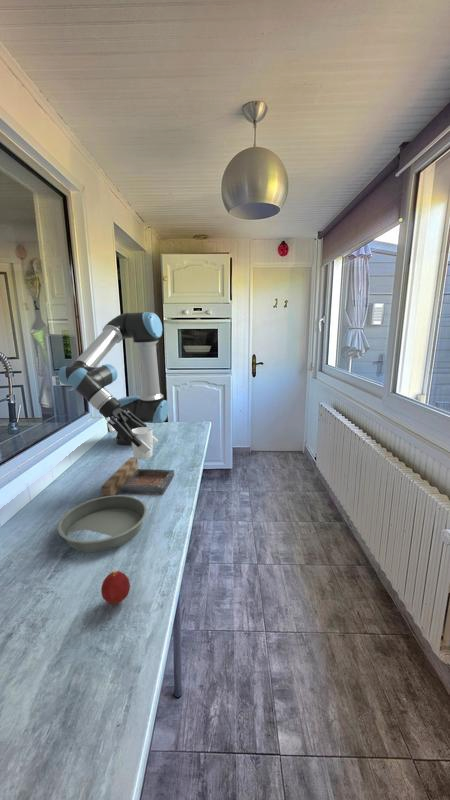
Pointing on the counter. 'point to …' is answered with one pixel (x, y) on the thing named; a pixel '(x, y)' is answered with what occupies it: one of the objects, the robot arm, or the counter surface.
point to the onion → (115, 587)
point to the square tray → (149, 481)
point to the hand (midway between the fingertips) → (151, 447)
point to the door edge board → (119, 478)
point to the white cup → (146, 437)
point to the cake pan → (104, 521)
